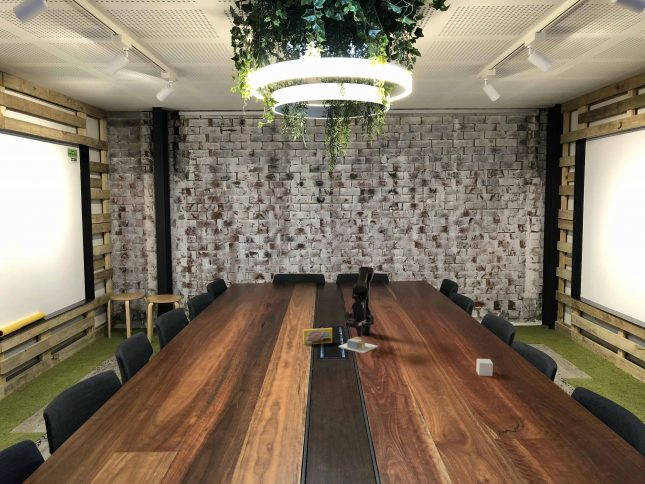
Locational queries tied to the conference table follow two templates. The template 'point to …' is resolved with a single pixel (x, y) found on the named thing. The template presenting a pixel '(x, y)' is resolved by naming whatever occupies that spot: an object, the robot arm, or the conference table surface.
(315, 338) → the candy box
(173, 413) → the conference table surface
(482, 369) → the white cube
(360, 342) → the maple block
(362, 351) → the mat
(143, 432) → the conference table surface
